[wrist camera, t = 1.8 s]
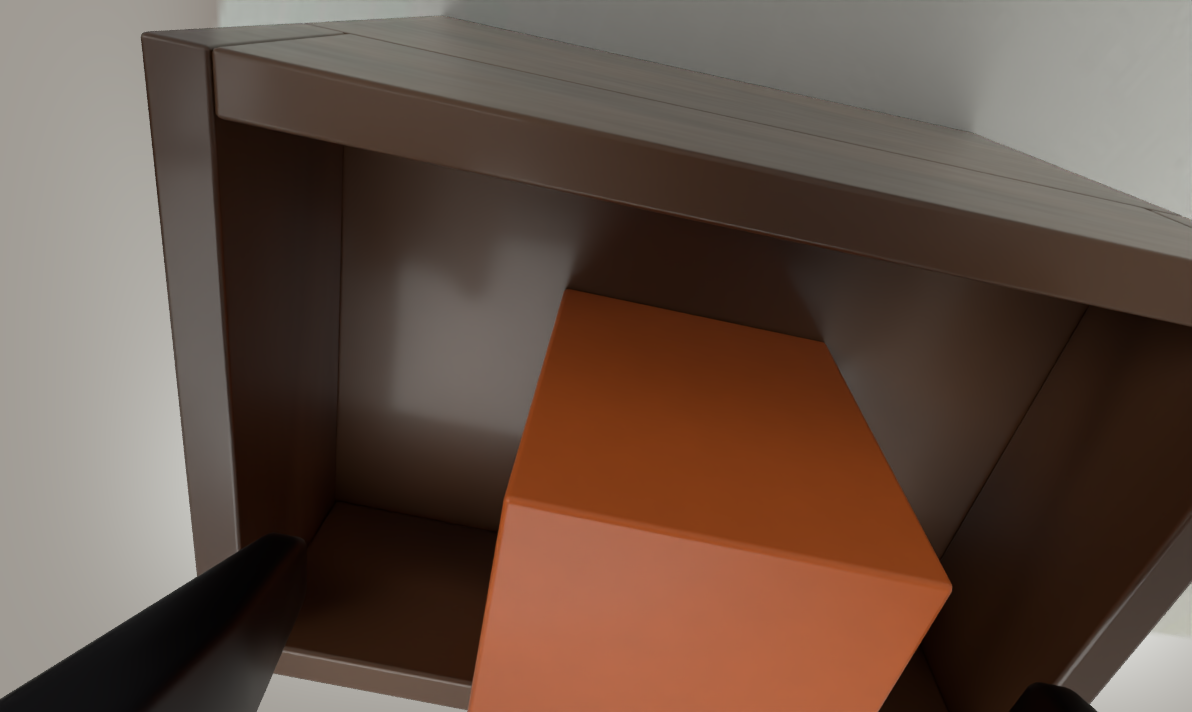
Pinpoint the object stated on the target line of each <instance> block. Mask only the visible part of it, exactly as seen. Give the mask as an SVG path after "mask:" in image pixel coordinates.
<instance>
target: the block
mask: <svg viewBox="0 0 1192 712" xmlns="http://www.w3.org/2000/svg"><path fill="white" fill-rule="evenodd" d="M951 592H952V584H951V582H950V580H949V578H948V576H947V574H946V572H945V570H944V568H943V567H942V565H941V563H940V561H939V559H938V557H937V555H936V553H935V551H934V549H933V547H932V546H931V544H930V542H929V540H928V538H927V536H926V534H925V532H924V530H923V528H922V526H921V525H920V523H919V521H918V519H917V517H916V515H915V513H914V511H913V509H912V507H911V506H910V504H909V502H908V500H907V498H906V496H905V494H904V492H903V490H902V488H901V486H900V485H899V483H898V481H897V479H896V477H895V475H894V473H893V471H892V469H891V467H890V466H889V464H888V462H887V460H886V458H885V456H884V454H883V452H882V450H881V448H880V446H879V445H878V443H877V441H876V439H875V437H874V435H873V433H872V431H871V429H870V427H869V426H868V424H867V422H866V420H865V418H864V416H863V414H862V412H861V410H860V408H859V406H858V405H857V403H856V401H855V399H854V397H853V395H852V393H851V391H850V389H849V387H848V385H847V384H846V382H845V380H844V378H843V376H842V374H841V372H840V370H839V368H838V366H837V365H836V363H835V361H834V359H833V357H832V355H831V353H830V351H829V349H828V347H827V345H826V344H825V343H824V342H819V341H814V340H810V339H805V338H800V337H795V336H791V335H786V334H781V333H776V332H771V331H767V330H762V329H757V328H752V327H748V326H743V325H738V324H733V323H729V322H724V321H719V320H714V319H710V318H705V317H700V316H695V315H690V314H686V313H681V312H676V311H671V310H667V309H662V308H657V307H652V306H648V305H643V304H638V303H633V302H629V301H624V300H619V299H614V298H609V297H605V296H600V295H595V294H590V293H586V292H581V291H576V290H571V289H565V291H564V293H563V296H562V300H561V303H560V307H559V310H558V314H557V317H556V320H555V324H554V327H553V331H552V334H551V338H550V341H549V345H548V348H547V351H546V355H545V358H544V362H543V365H542V369H541V372H540V376H539V379H538V382H537V386H536V389H535V393H534V396H533V400H532V403H531V407H530V410H529V414H528V417H527V420H526V424H525V427H524V431H523V434H522V438H521V441H520V445H519V448H518V451H517V455H516V458H515V462H514V465H513V469H512V472H511V476H510V479H509V482H508V486H507V489H506V493H505V496H504V500H503V506H502V512H501V518H500V524H499V529H498V535H497V541H496V547H495V553H494V559H493V564H492V570H491V576H490V582H489V588H488V594H487V600H486V605H485V611H484V617H483V623H482V629H481V635H480V640H479V646H478V652H477V658H476V664H475V670H474V676H473V681H472V687H471V693H470V699H469V705H468V711H467V712H878V711H879V710H880V708H881V706H882V705H883V703H884V702H885V700H886V698H887V697H888V695H889V693H890V692H891V690H892V689H893V687H894V685H895V684H896V682H897V680H898V679H899V677H900V676H901V674H902V672H903V671H904V669H905V667H906V666H907V664H908V662H909V661H910V659H911V658H912V656H913V654H914V653H915V651H916V649H917V648H918V646H919V645H920V643H921V641H922V640H923V638H924V636H925V635H926V633H927V631H928V630H929V628H930V627H931V625H932V623H933V622H934V620H935V618H936V617H937V615H938V614H939V612H940V610H941V609H942V607H943V605H944V604H945V602H946V600H947V599H948V597H949V596H950V594H951Z"/></svg>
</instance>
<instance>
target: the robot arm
mask: <svg viewBox="0 0 1192 712" xmlns="http://www.w3.org/2000/svg"><path fill="white" fill-rule="evenodd" d="M306 589H307V546H306V542H305V540H304V539H302V538H300V537H297V536H291V535H286V534H281V533H276V532H273V533H269V534H266V535H264V536H262V537H260V538H259V539H257V540H256V541H254V542H252V543H251V544H249V545H248V546H246V547H244V548H243V549H241V550H239V551H238V552H236V553H235V554H233V555H231V556H230V557H228V558H227V559H225V560H223V561H222V562H220V563H219V564H217V565H215V566H214V567H212V568H210V569H209V570H207V571H206V572H204V573H202V574H201V575H199V576H198V577H196V578H194V579H193V580H191V581H190V582H188V583H186V584H185V585H183V586H182V587H180V588H178V589H177V590H175V591H173V592H172V593H171V594H169V595H167V596H165V597H164V598H162V599H161V600H159V601H158V602H156V603H154V604H153V605H151V606H149V607H148V608H146V609H144V610H143V611H141V612H140V613H138V614H137V615H135V616H133V617H132V618H130V619H128V620H127V621H125V622H124V623H122V624H120V625H119V626H117V627H115V628H114V629H112V630H111V631H109V632H108V633H106V634H104V635H103V636H101V637H99V638H98V639H96V640H95V641H93V642H91V643H90V644H88V645H86V646H85V647H83V648H82V649H80V650H78V651H77V652H75V653H74V654H72V655H70V656H69V657H67V658H66V659H64V660H62V661H61V662H59V663H57V664H56V665H54V666H53V667H51V668H50V669H48V670H46V671H45V672H43V673H41V674H40V675H38V676H37V677H35V678H33V679H32V680H30V681H28V682H27V683H25V684H24V685H22V686H20V687H19V688H17V689H16V690H14V691H12V692H11V693H9V694H8V695H6V696H4V697H3V698H1V699H0V712H257V709H258V707H259V705H260V702H261V700H262V698H263V695H264V693H265V691H266V688H267V686H268V684H269V681H270V679H271V677H272V674H273V672H274V670H275V668H276V665H277V663H278V661H279V658H280V656H281V654H282V652H283V649H284V647H285V645H286V642H287V640H288V638H289V635H290V633H291V631H292V628H293V626H294V624H295V621H296V619H297V617H298V615H299V612H300V610H301V607H302V605H303V602H304V599H305V595H306ZM1009 712H1097V711H1096V710H1095V709H1094V708H1093V707H1092V706H1091V705H1089V704H1088V703H1087V702H1086V701H1085V700H1084V699H1083V698H1082V697H1080V696H1079V695H1078V694H1077V693H1076V692H1074V691H1073V690H1071V689H1069V688H1066V687H1063V686H1058V685H1052V684H1047V683H1042V682H1035V683H1033V684H1031V685H1029V686H1028V687H1027V688H1026V690H1025V691H1024V692H1023V694H1022V695H1021V696H1020V698H1019V699H1018V700H1017V702H1016V703H1015V704H1014V705H1013V707H1012V708H1011V709H1010V711H1009Z"/></svg>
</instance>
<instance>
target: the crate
mask: <svg viewBox="0 0 1192 712" xmlns="http://www.w3.org/2000/svg"><path fill="white" fill-rule="evenodd" d="M141 43H142V51H143V62H144V71H145V81H146V90H147V100H148V110H149V119H150V129H151V138H152V148H153V157H154V167H155V176H156V186H157V195H158V205H159V215H160V224H161V234H162V244H163V254H164V263H165V272H166V282H167V292H168V301H169V310H170V321H171V329H172V339H173V349H174V359H175V369H176V378H177V388H178V396H179V407H180V416H181V426H182V436H183V445H184V455H185V464H186V474H187V483H188V493H189V503H190V512H191V522H192V532H193V541H194V551H195V560H196V570H197V577H198V576H199V575H201V574H202V573H204V572H206V571H207V570H209V569H210V568H212V567H214V566H215V565H217V564H219V563H220V562H222V561H223V560H225V559H227V558H228V557H230V556H231V555H233V554H235V553H236V552H238V551H239V550H241V549H243V548H244V547H246V546H248V545H249V544H251V543H252V542H254V541H256V540H257V539H259V538H260V537H262V536H264V535H266V534H269V533H273V532H276V533H281V534H286V535H291V536H297V537H300V538H302V539H304V540H305V542H306V546H307V589H306V595H305V599H304V602H303V605H302V607H301V610H300V612H299V615H298V617H297V619H296V621H295V624H294V626H293V628H292V631H291V633H290V635H289V638H288V640H287V642H286V645H285V647H284V649H283V652H282V654H281V656H280V658H279V661H278V663H277V665H276V668H275V670H274V672H273V673H274V674H279V675H285V676H289V677H295V678H300V679H305V680H311V681H316V682H321V683H326V684H332V685H337V686H342V687H348V688H353V689H358V690H364V691H369V692H374V693H379V694H385V695H391V696H395V697H400V698H406V699H411V700H417V701H421V702H427V703H432V704H438V705H442V706H448V707H453V708H459V709H464V710H468V705H469V699H470V693H471V687H472V681H473V676H474V670H475V664H476V658H477V652H478V646H479V640H480V635H481V629H482V623H483V617H484V611H485V605H486V600H487V594H488V588H489V582H490V576H491V570H492V564H493V559H494V553H495V547H496V541H497V535H498V529H499V524H500V518H501V512H502V506H503V500H504V496H505V493H506V489H507V486H508V482H509V479H510V476H511V472H512V469H513V465H514V462H515V458H516V455H517V451H518V448H519V445H520V441H521V438H522V434H523V431H524V427H525V424H526V420H527V417H528V414H529V410H530V407H531V403H532V400H533V396H534V393H535V389H536V386H537V382H538V379H539V376H540V372H541V369H542V365H543V362H544V358H545V355H546V351H547V348H548V345H549V341H550V338H551V334H552V331H553V327H554V324H555V320H556V317H557V314H558V310H559V307H560V303H561V300H562V296H563V293H564V291H565V289H571V290H576V291H581V292H586V293H590V294H595V295H600V296H605V297H609V298H614V299H619V300H624V301H629V302H633V303H638V304H643V305H648V306H652V307H657V308H662V309H667V310H671V311H676V312H681V313H686V314H690V315H695V316H700V317H705V318H710V319H714V320H719V321H724V322H729V323H733V324H738V325H743V326H748V327H752V328H757V329H762V330H767V331H771V332H776V333H781V334H786V335H791V336H795V337H800V338H805V339H810V340H814V341H819V342H824V343H825V344H826V345H827V347H828V349H829V351H830V353H831V355H832V357H833V359H834V361H835V363H836V365H837V366H838V368H839V370H840V372H841V374H842V376H843V378H844V380H845V382H846V384H847V385H848V387H849V389H850V391H851V393H852V395H853V397H854V399H855V401H856V403H857V405H858V406H859V408H860V410H861V412H862V414H863V416H864V418H865V420H866V422H867V424H868V426H869V427H870V429H871V431H872V433H873V435H874V437H875V439H876V441H877V443H878V445H879V446H880V448H881V450H882V452H883V454H884V456H885V458H886V460H887V462H888V464H889V466H890V467H891V469H892V471H893V473H894V475H895V477H896V479H897V481H898V483H899V485H900V486H901V488H902V490H903V492H904V494H905V496H906V498H907V500H908V502H909V504H910V506H911V507H912V509H913V511H914V513H915V515H916V517H917V519H918V521H919V523H920V525H921V526H922V528H923V530H924V532H925V534H926V536H927V538H928V540H929V542H930V544H931V546H932V547H933V549H934V551H935V553H936V555H937V557H938V559H939V561H940V563H941V565H942V567H943V568H944V570H945V572H946V574H947V576H948V578H949V580H950V582H951V584H952V592H951V594H950V596H949V597H948V599H947V600H946V602H945V604H944V605H943V607H942V609H941V610H940V612H939V614H938V615H937V617H936V618H935V620H934V622H933V623H932V625H931V627H930V628H929V630H928V631H927V633H926V635H925V636H924V638H923V640H922V641H921V643H920V645H919V646H918V648H917V649H916V651H915V653H914V654H913V656H912V658H911V659H910V661H909V662H908V664H907V666H906V667H905V669H904V671H903V672H902V674H901V676H900V677H899V679H898V680H897V682H896V684H895V685H894V687H893V689H892V690H891V692H890V693H889V695H888V697H887V698H886V700H885V702H884V703H883V705H882V706H881V708H880V710H879V711H878V712H1009V711H1010V709H1011V708H1012V707H1013V705H1014V704H1015V703H1016V702H1017V700H1018V699H1019V698H1020V696H1021V695H1022V694H1023V692H1024V691H1025V690H1026V688H1027V687H1028V686H1029V685H1031V684H1033V683H1035V682H1042V683H1047V684H1052V685H1058V686H1063V687H1066V688H1069V689H1071V690H1073V691H1074V692H1076V693H1077V694H1078V695H1079V696H1080V697H1082V698H1083V699H1084V700H1085V701H1086V702H1087V703H1088V704H1089V705H1090V703H1091V702H1092V701H1093V700H1094V699H1095V697H1096V696H1097V695H1098V694H1099V693H1100V691H1101V690H1102V689H1103V688H1104V687H1105V685H1106V684H1107V683H1108V682H1109V681H1110V679H1111V678H1112V677H1113V676H1114V675H1115V673H1116V672H1117V671H1118V670H1119V669H1120V667H1121V666H1122V665H1123V664H1124V663H1125V661H1126V660H1127V659H1128V658H1129V657H1130V655H1131V654H1132V653H1133V652H1134V651H1135V649H1136V648H1137V647H1138V646H1139V644H1140V643H1141V642H1142V641H1143V640H1144V639H1145V637H1146V636H1147V635H1148V634H1149V633H1150V632H1151V630H1152V629H1153V628H1154V627H1155V626H1156V624H1157V623H1158V622H1159V621H1160V620H1161V618H1162V617H1163V616H1164V615H1165V614H1166V612H1167V611H1168V610H1169V609H1170V608H1171V606H1172V605H1173V604H1174V603H1175V602H1176V600H1177V599H1178V598H1179V597H1180V596H1181V594H1182V593H1183V592H1184V591H1185V590H1186V588H1187V587H1188V586H1189V585H1190V584H1191V582H1192V220H1191V219H1189V218H1186V217H1182V216H1181V215H1179V214H1176V213H1174V212H1171V211H1169V210H1166V209H1164V208H1161V207H1159V206H1156V205H1154V204H1151V203H1149V202H1146V201H1144V200H1141V199H1139V198H1136V197H1133V196H1131V195H1128V194H1126V193H1123V192H1121V191H1118V190H1116V189H1113V188H1111V187H1108V186H1106V185H1103V184H1101V183H1098V182H1096V181H1093V180H1091V179H1088V178H1085V177H1083V176H1080V175H1078V174H1075V173H1073V172H1070V171H1068V170H1065V169H1063V168H1060V167H1058V166H1055V165H1053V164H1050V163H1048V162H1045V161H1043V160H1040V159H1038V158H1035V157H1032V156H1030V155H1027V154H1025V153H1022V152H1020V151H1017V150H1015V149H1012V148H1010V147H1007V146H1005V145H1002V144H1000V143H997V142H995V141H992V140H990V139H987V138H984V137H982V136H979V135H977V134H974V133H971V132H966V131H962V130H957V129H953V128H948V127H944V126H939V125H935V124H930V123H925V122H921V121H916V120H912V119H907V118H903V117H898V116H894V115H889V114H885V113H880V112H876V111H871V110H867V109H862V108H858V107H853V106H849V105H844V104H840V103H835V102H831V101H826V100H822V99H817V98H812V97H808V96H803V95H799V94H794V93H790V92H785V91H781V90H776V89H772V88H767V87H763V86H758V85H754V84H749V83H745V82H740V81H736V80H731V79H727V78H722V77H718V76H713V75H708V74H704V73H699V72H695V71H690V70H686V69H681V68H677V67H672V66H668V65H663V64H659V63H654V62H650V61H645V60H641V59H636V58H632V57H627V56H623V55H618V54H614V53H609V52H605V51H600V50H595V49H591V48H586V47H582V46H577V45H573V44H568V43H564V42H559V41H555V40H550V39H546V38H541V37H537V36H532V35H528V34H523V33H519V32H514V31H510V30H505V29H501V28H496V27H491V26H487V25H482V24H478V23H473V22H469V21H464V20H460V19H455V18H451V17H446V16H425V17H407V18H389V19H371V20H353V21H336V22H318V23H305V24H303V23H295V24H277V25H259V26H241V27H223V28H206V29H188V30H170V31H151V32H144V33H142V35H141Z"/></svg>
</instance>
